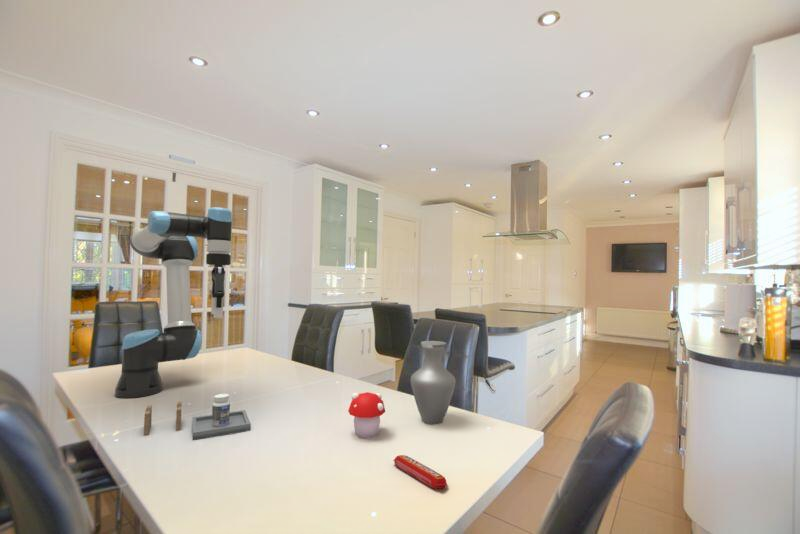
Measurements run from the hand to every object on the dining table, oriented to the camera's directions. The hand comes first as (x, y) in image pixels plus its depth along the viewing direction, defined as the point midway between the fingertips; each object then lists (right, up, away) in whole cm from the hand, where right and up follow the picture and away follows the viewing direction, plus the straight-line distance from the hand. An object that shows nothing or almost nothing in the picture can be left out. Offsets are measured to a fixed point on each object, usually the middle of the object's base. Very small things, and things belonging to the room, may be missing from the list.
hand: (216, 315), depth 129 cm
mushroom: (+53, -32, -18) cm, 64 cm away
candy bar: (+67, -32, -42) cm, 85 cm away
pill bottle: (+9, -31, -15) cm, 35 cm away
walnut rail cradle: (-8, -31, -16) cm, 36 cm away
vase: (+73, -33, -7) cm, 80 cm away
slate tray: (+9, -31, -15) cm, 36 cm away
